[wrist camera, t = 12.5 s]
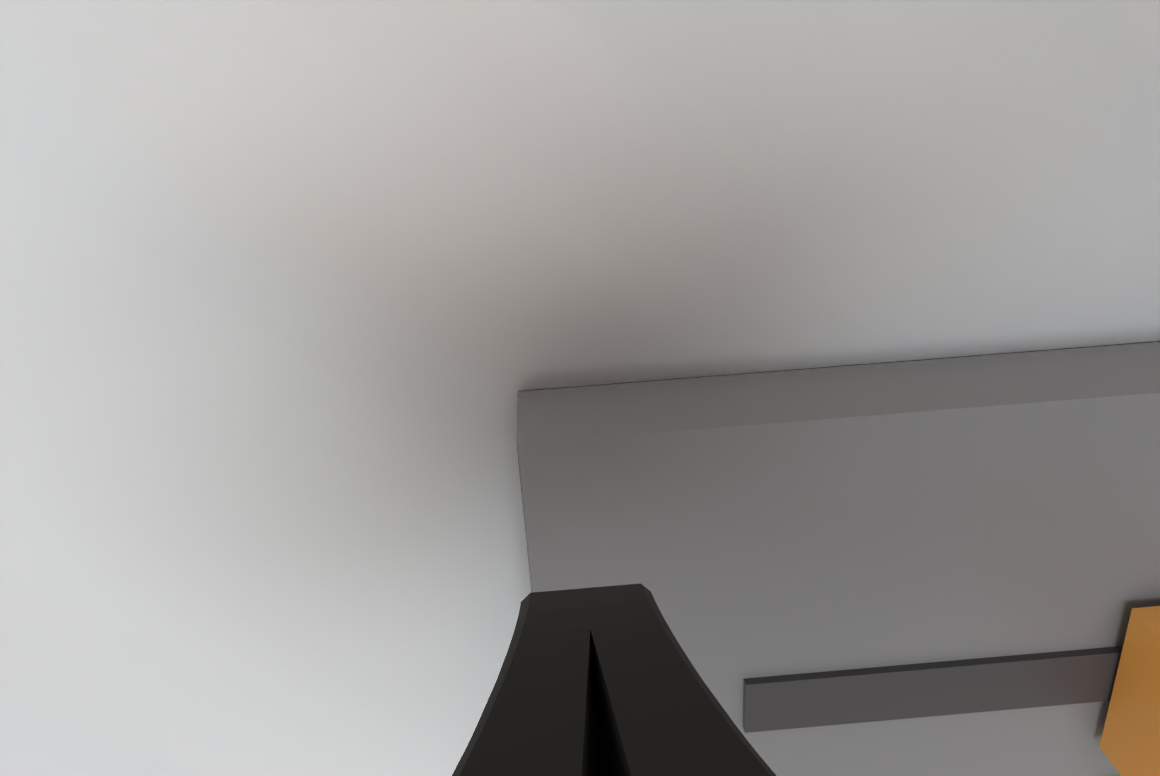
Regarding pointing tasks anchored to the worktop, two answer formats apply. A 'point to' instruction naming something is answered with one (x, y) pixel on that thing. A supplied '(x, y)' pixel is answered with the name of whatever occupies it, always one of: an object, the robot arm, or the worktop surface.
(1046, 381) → the breaker panel
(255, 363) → the worktop surface
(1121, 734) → the block
